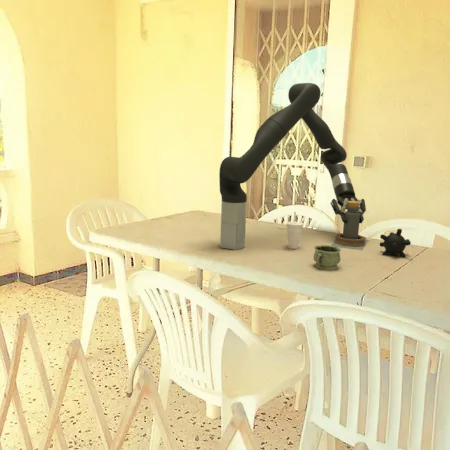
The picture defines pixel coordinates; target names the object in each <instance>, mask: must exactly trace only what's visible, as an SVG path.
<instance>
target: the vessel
mask: <svg viewBox="0 0 450 450" xmlns="http://www.w3.org/2000/svg"><path fill="white" fill-rule="evenodd" d="M331 245H332V244H330V245H329V244H319V245H315V246H314V250H315V251H314V254H313V261H314V262H315V264H314V267H316V268H318V269H321V270H327V271H328V270H329V271H333V270H337V269H338V268H339V265H338V264H340V263H341V254H340V253H341V251H342V248H340V247H336V246H331Z"/></svg>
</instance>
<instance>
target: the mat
mask: <svg viewBox="0 0 450 450" xmlns="http://www.w3.org/2000/svg"><path fill="white" fill-rule="evenodd" d="M368 242H369V240H368V239H366V240H365V245H364V246H359V247H350V246H343V245H340V244H337V243H335V240H334V241H333V243H332V244H330V245H331V246H336V247H339V248H340V249H349V250H358V251H363V250H364V249H365V247H366V245H367V244H368Z"/></svg>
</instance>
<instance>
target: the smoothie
mask: <svg viewBox="0 0 450 450" xmlns="http://www.w3.org/2000/svg"><path fill="white" fill-rule="evenodd" d="M296 216H297V215H296V211H293V221H287V222H285V226H286V232H287V234H286V235H287V248H288V249H291V250H294V251H295V250H296V249H297V250H298V249H299V247H300V242H301V237H302V231H303V227H304V223H303V222H301V221H296Z"/></svg>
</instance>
